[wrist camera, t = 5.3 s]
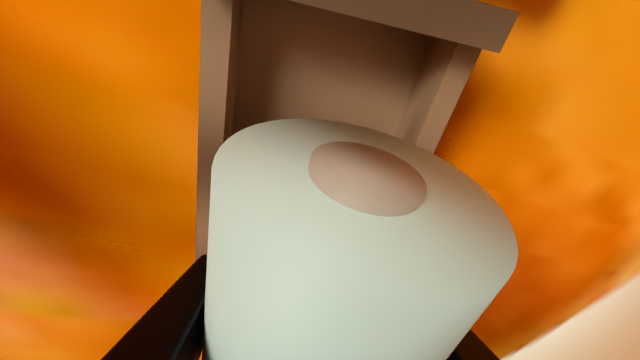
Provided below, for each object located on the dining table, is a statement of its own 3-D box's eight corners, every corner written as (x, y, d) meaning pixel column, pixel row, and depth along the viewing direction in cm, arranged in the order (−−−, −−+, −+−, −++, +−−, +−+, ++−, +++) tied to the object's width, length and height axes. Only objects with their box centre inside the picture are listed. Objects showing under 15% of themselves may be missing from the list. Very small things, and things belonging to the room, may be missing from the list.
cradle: (351, 267, 19) (363, 331, 15) (209, 252, 17) (188, 318, 14) (455, 2, 11) (521, 13, 8) (226, -60, 10) (191, -79, 7)
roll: (351, 331, 12) (383, 517, 8) (217, 323, 11) (174, 527, 7) (442, 132, 8) (616, 310, 4) (237, 94, 7) (158, 271, 3)
